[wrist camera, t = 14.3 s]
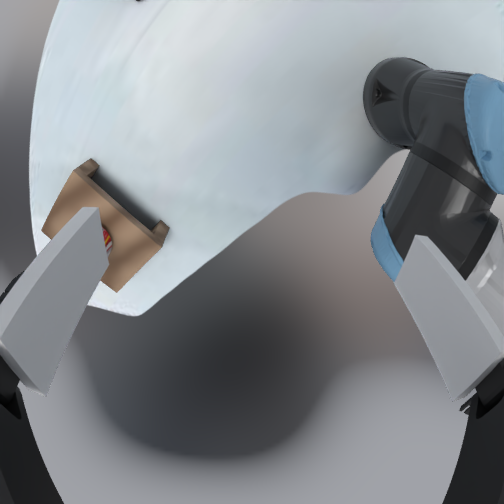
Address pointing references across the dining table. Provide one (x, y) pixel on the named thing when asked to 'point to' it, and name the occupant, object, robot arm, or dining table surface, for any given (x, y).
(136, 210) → the dining table surface
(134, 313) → the dining table surface
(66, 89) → the dining table surface
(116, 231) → the walnut shelf
